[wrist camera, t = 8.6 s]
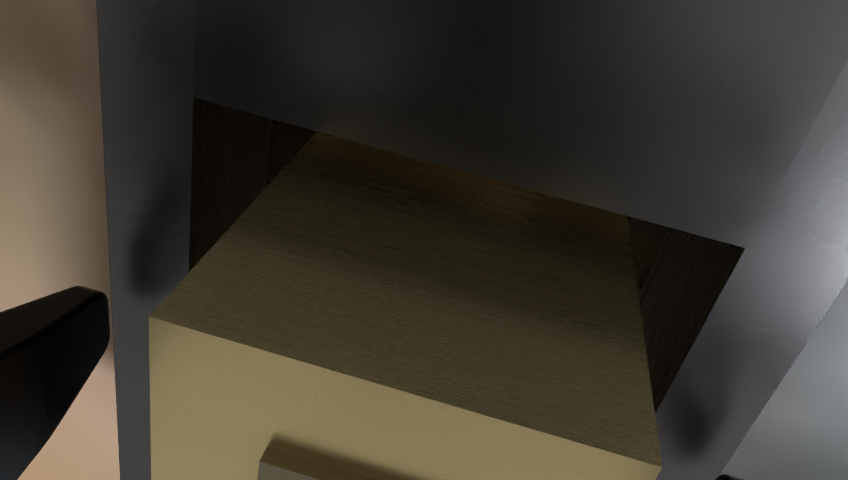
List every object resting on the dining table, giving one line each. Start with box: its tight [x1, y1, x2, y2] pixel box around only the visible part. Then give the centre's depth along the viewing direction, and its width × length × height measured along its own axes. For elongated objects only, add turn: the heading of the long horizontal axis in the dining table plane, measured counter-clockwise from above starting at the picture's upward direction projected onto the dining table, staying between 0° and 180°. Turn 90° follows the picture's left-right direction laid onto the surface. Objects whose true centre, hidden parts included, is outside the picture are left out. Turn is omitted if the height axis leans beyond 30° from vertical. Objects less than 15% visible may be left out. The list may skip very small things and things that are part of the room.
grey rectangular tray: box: [96, 0, 848, 480], centre depth 9 cm, size 10×22×3 cm, turn 168°
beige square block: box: [149, 131, 662, 480], centre depth 10 cm, size 5×5×6 cm
